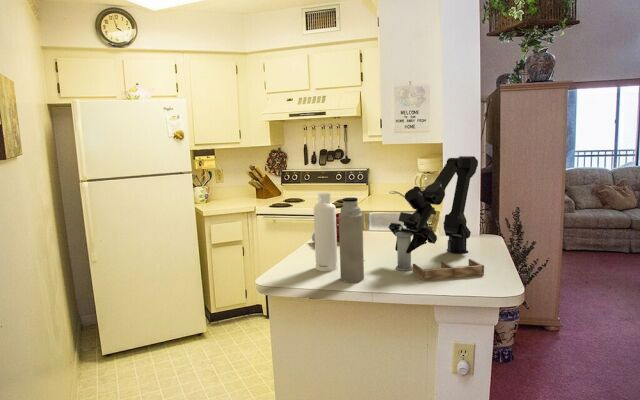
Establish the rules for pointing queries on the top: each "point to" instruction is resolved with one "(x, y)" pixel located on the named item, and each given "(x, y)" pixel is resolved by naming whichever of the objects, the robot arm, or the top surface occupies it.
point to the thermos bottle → (351, 241)
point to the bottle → (325, 233)
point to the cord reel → (403, 251)
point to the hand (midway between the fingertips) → (401, 251)
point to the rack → (449, 271)
